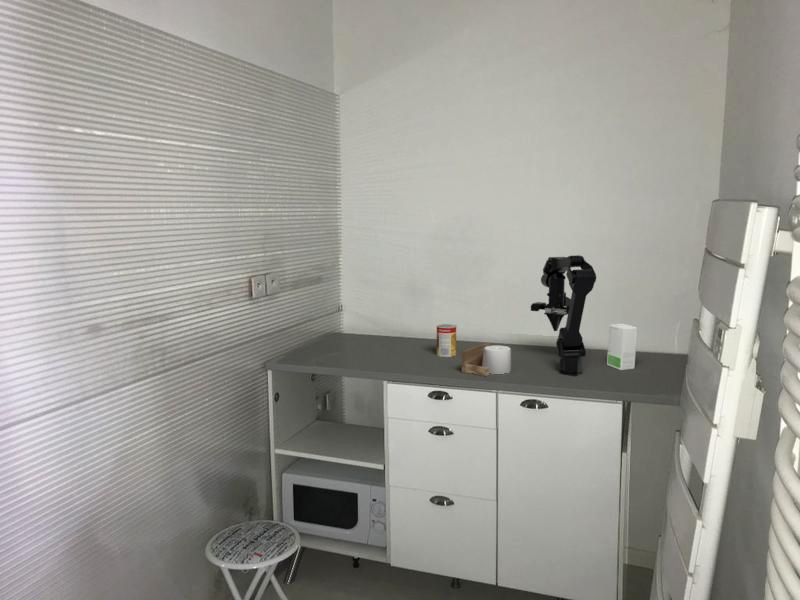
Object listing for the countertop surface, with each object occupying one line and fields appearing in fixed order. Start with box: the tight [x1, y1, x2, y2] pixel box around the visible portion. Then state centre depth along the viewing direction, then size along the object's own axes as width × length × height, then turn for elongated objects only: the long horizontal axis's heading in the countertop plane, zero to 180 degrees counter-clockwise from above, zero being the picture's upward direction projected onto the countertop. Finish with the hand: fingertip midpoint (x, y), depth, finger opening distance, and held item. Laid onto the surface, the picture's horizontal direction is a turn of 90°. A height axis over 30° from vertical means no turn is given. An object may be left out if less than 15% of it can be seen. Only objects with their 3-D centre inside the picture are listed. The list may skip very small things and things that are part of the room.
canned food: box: [436, 323, 457, 358], centre depth 260 cm, size 8×8×12 cm
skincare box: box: [606, 322, 638, 371], centre depth 237 cm, size 8×7×16 cm
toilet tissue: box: [482, 345, 512, 375], centre depth 232 cm, size 9×13×9 cm
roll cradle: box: [461, 342, 491, 376], centre depth 236 cm, size 10×17×8 cm, turn 141°
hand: (555, 330), depth 246 cm, fingers closed
